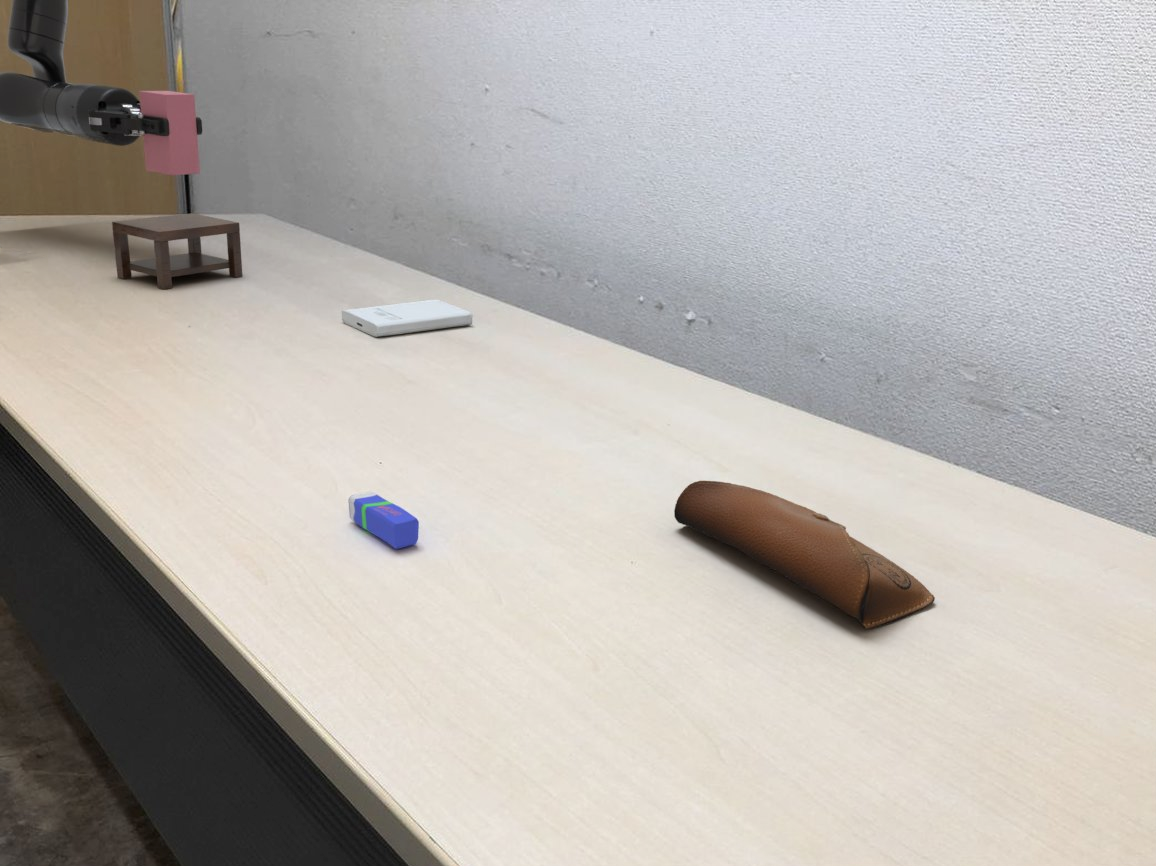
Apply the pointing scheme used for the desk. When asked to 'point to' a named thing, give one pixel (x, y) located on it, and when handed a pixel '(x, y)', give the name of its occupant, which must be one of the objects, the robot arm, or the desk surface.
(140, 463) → the desk surface
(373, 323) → the hard drive
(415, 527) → the eraser
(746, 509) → the sunglasses case
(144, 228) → the wooden coffee table
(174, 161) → the pink box
